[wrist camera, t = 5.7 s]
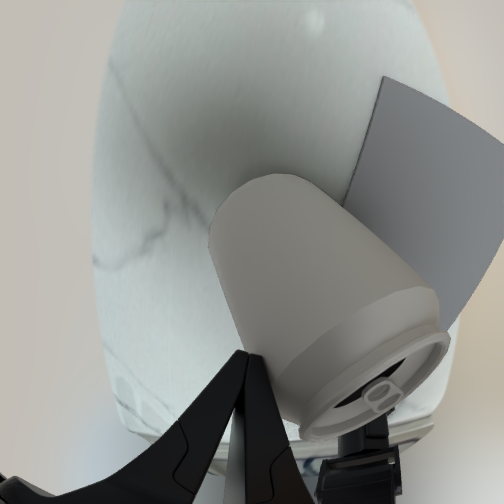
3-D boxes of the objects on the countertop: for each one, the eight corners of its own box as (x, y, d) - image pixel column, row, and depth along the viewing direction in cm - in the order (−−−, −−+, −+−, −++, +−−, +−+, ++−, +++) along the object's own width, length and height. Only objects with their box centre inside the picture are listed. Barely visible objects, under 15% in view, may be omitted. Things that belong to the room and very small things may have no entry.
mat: (424, 355, 23) (425, 358, 23) (291, 329, 23) (291, 332, 23) (528, 165, 13) (531, 167, 13) (383, 76, 13) (384, 76, 13)
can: (281, 141, 15) (474, 280, 5) (338, 225, 19) (462, 357, 10) (177, 231, 16) (234, 453, 6) (255, 294, 20) (332, 451, 11)
